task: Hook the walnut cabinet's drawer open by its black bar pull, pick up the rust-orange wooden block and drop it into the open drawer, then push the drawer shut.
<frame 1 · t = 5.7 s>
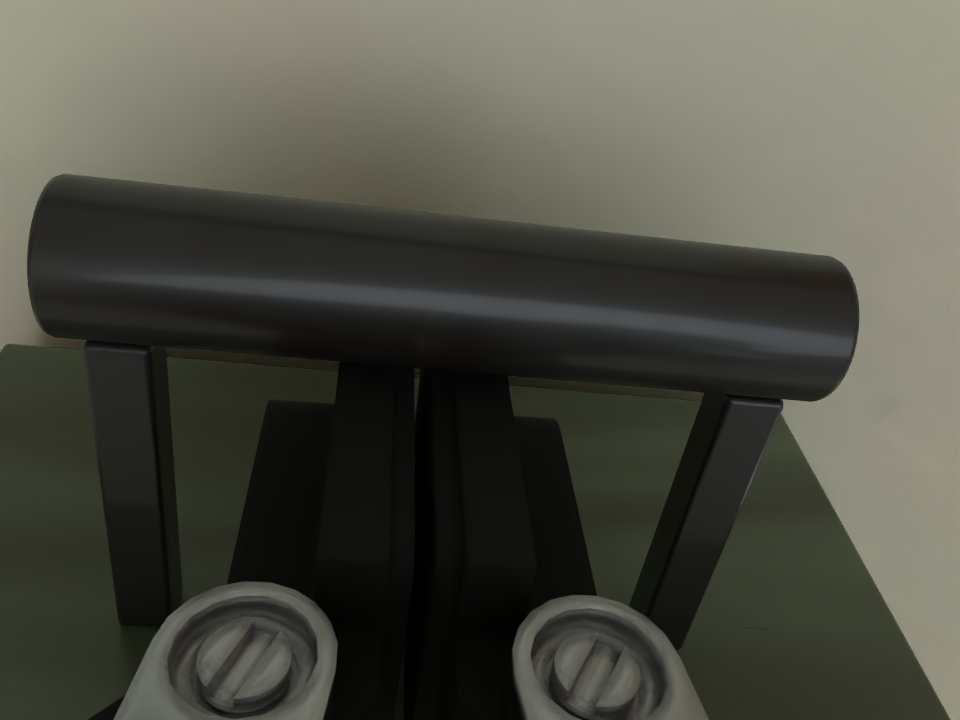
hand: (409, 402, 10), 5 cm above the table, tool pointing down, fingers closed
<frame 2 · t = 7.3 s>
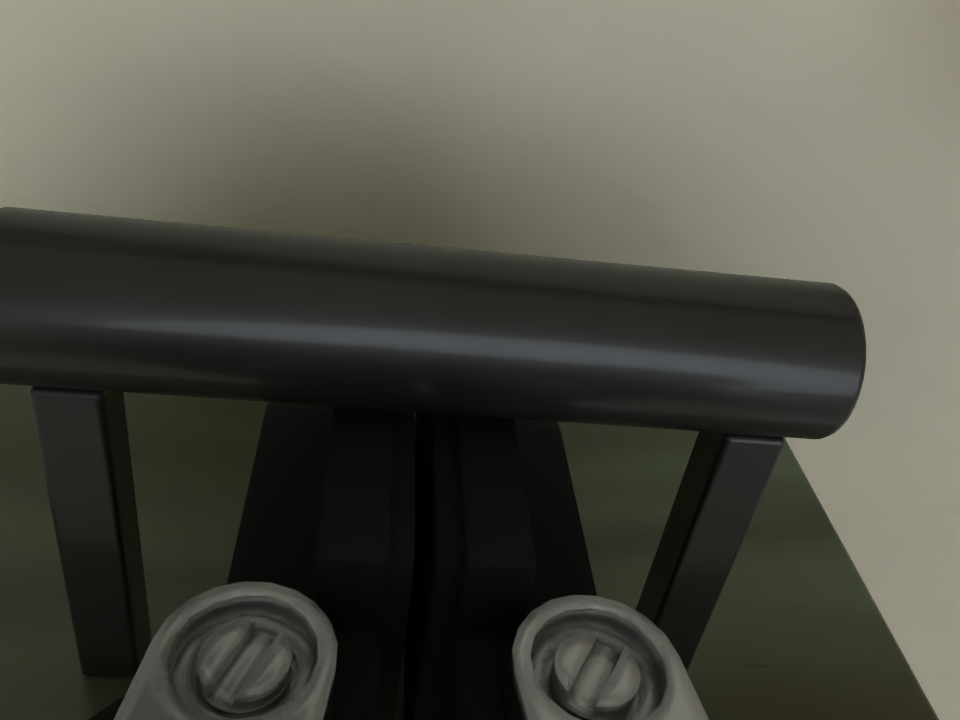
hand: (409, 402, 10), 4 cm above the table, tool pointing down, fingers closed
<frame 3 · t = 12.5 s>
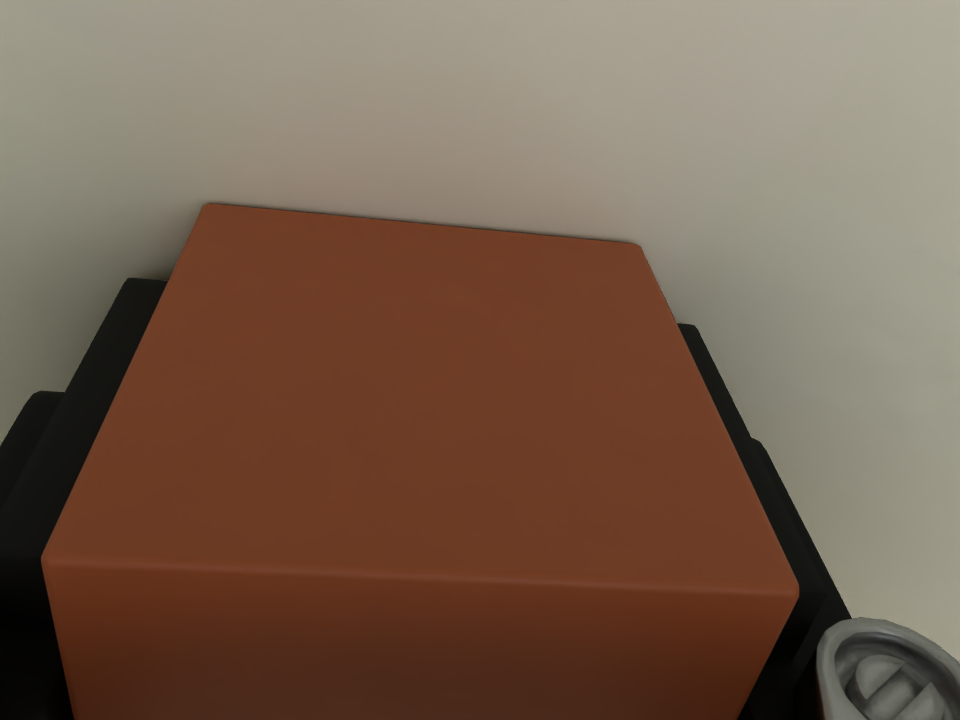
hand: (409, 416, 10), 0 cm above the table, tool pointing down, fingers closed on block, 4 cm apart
block: (409, 396, 10), on the table, touching gripper
when the fingers open (7 cm above the table, at t = 18.1 s): block drops 4 cm, resting on drawer.
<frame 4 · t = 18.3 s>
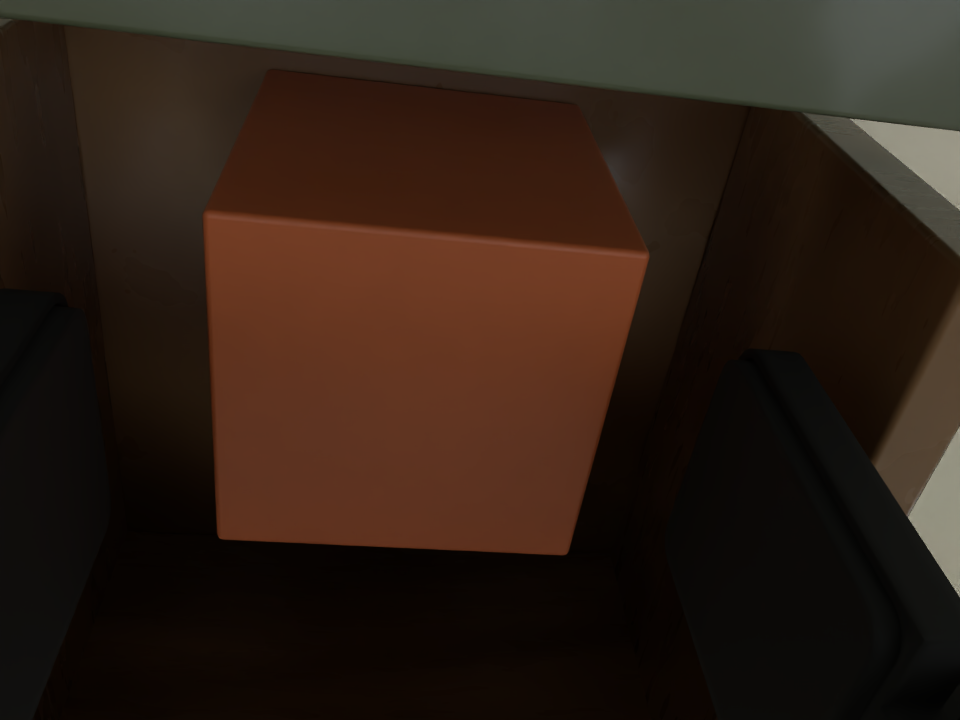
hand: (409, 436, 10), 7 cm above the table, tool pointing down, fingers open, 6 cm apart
drawer: (417, 219, 11), point 5 cm above the table, slide at 8.2 cm, touching block
block: (412, 227, 14), point 2 cm above the table, touching drawer
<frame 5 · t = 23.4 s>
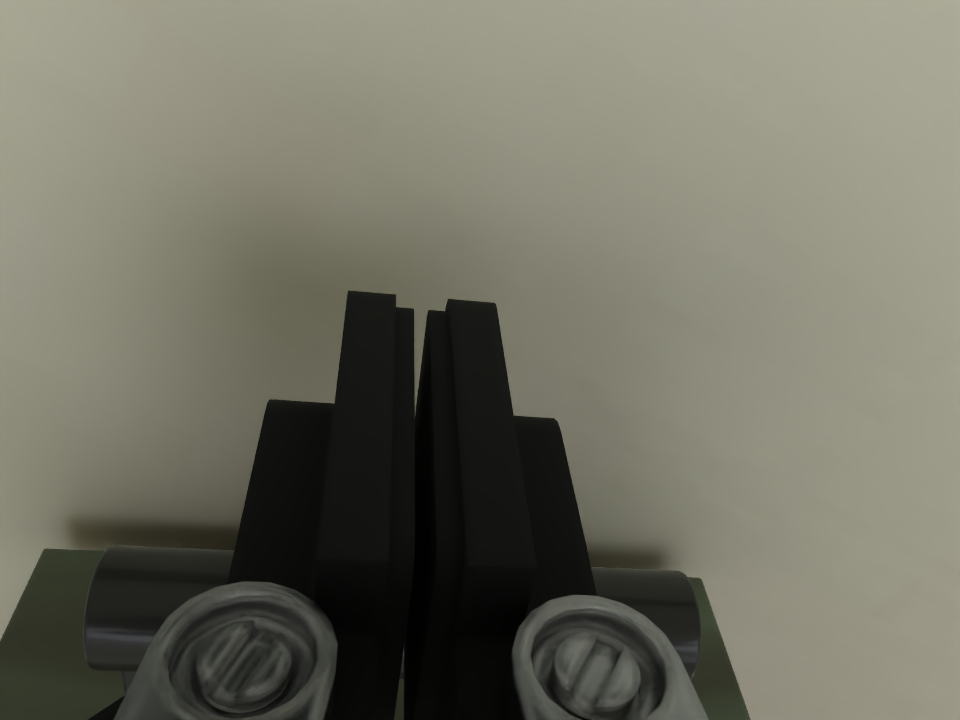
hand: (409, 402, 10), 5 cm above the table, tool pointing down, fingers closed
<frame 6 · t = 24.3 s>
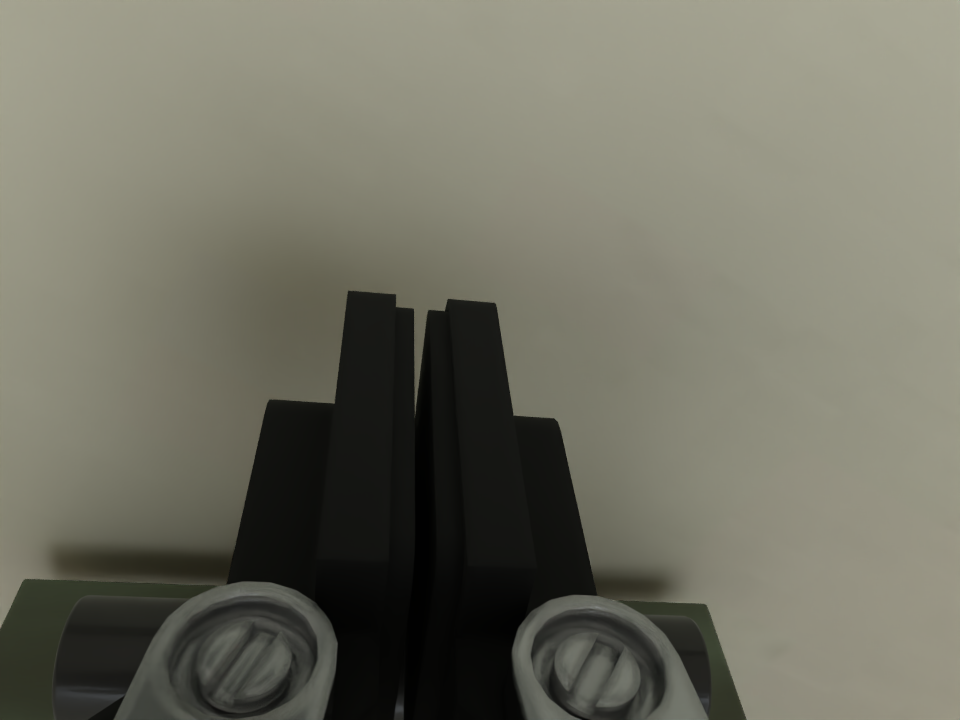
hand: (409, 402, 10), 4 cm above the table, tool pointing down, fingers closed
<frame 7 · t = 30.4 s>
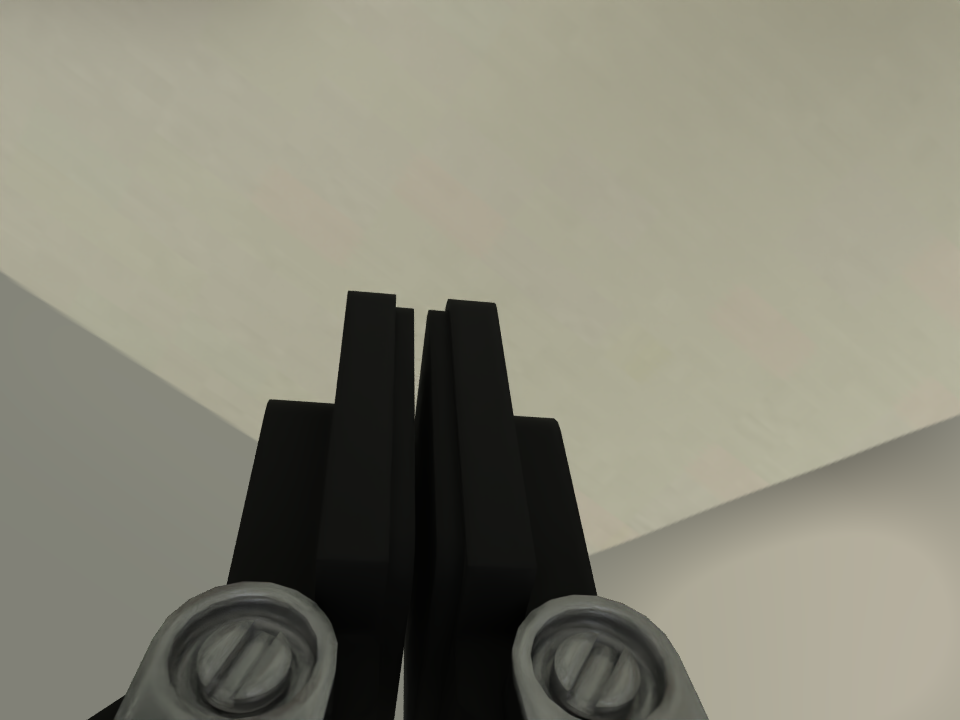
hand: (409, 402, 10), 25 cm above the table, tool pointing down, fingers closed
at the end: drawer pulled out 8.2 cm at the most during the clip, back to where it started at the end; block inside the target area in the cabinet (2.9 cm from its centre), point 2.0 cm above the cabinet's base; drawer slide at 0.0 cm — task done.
